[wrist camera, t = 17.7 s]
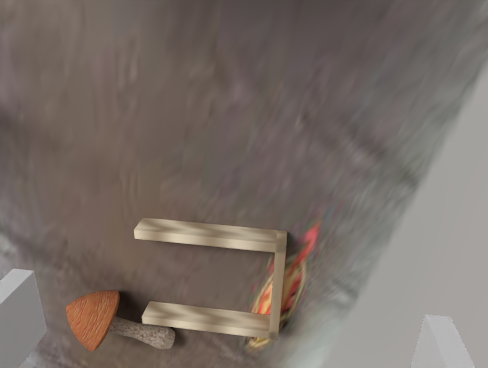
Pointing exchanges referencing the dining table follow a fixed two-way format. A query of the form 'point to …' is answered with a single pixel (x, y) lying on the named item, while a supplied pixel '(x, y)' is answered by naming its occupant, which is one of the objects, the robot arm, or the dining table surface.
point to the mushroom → (111, 322)
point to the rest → (220, 238)
